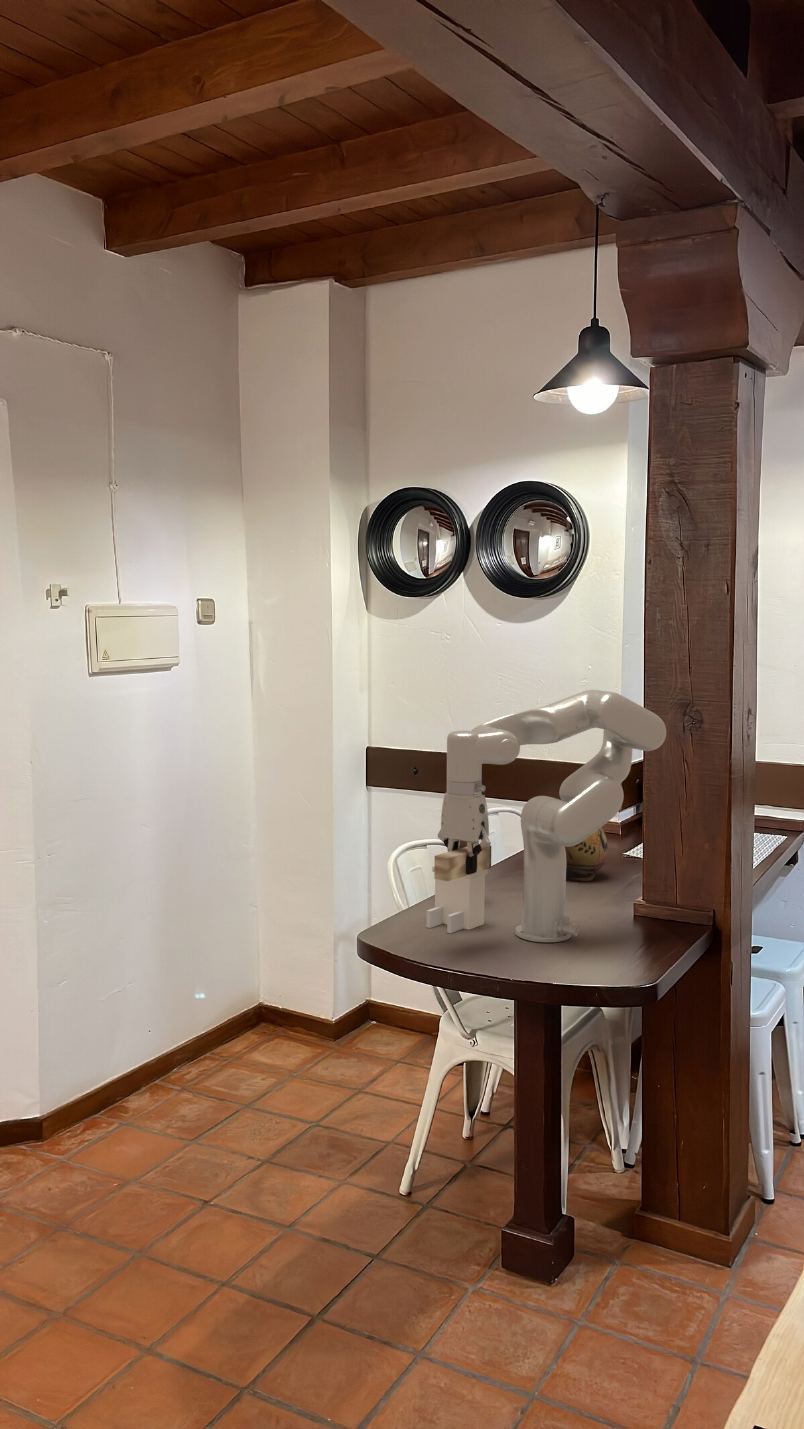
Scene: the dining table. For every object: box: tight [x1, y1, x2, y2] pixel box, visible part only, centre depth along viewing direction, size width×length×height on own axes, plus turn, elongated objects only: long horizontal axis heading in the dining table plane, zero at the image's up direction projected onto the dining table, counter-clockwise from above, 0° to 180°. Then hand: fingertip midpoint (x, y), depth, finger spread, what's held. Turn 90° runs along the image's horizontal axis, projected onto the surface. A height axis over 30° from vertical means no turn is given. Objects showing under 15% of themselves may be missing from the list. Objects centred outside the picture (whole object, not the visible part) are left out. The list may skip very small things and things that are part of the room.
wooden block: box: [433, 845, 492, 882], centre depth 233 cm, size 16×4×5 cm, turn 140°
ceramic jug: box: [565, 825, 609, 882], centre depth 297 cm, size 17×15×30 cm
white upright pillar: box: [426, 866, 489, 934], centre depth 250 cm, size 12×11×13 cm
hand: (463, 871), depth 233 cm, fingers closed on wooden block, 3 cm apart
